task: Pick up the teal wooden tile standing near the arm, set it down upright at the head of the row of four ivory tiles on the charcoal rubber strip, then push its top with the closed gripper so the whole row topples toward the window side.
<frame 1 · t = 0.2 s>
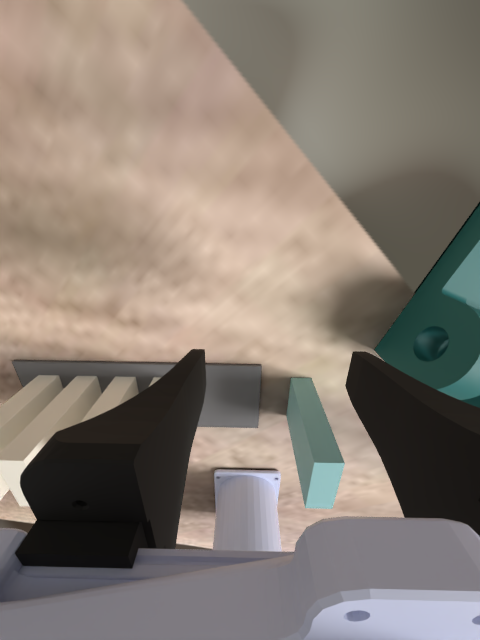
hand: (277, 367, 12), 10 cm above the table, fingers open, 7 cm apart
bracket: (470, 273, 21), on the table
mat: (143, 394, 26), on the table
tile 5: (56, 395, 26), resting on mat
tile 4: (92, 395, 26), resting on mat
tile 3: (129, 396, 26), resting on mat
tile 1: (298, 397, 26), on the table
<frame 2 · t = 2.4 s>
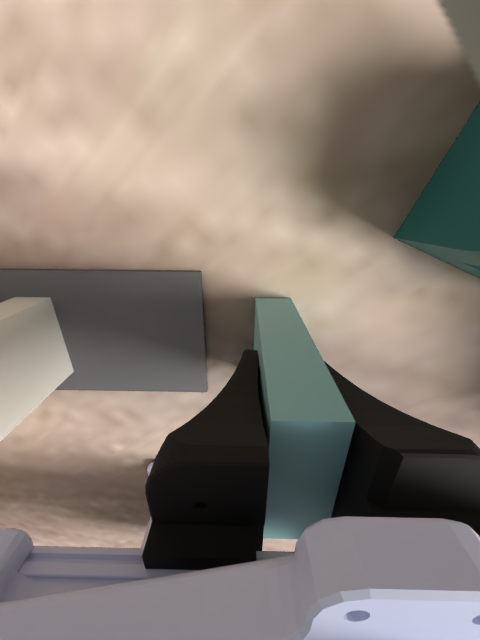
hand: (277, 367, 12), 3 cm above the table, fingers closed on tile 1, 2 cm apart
mat: (9, 333, 15), on the table
tile 2: (46, 336, 15), resting on mat
tile 1: (270, 337, 15), on the table, touching gripper
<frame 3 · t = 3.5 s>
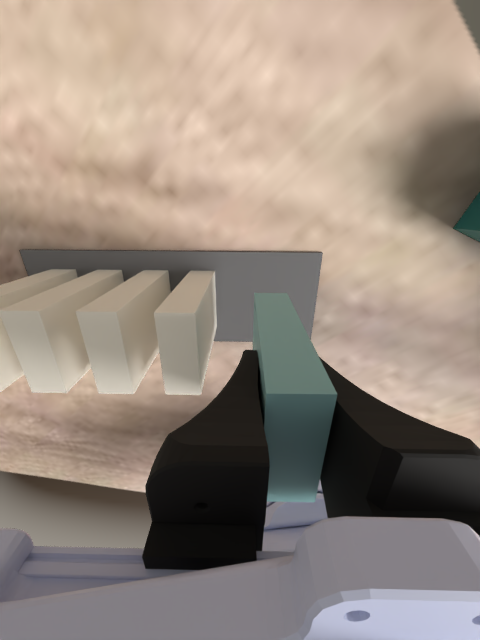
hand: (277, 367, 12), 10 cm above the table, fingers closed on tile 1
mat: (175, 298, 22), on the table
tile 5: (71, 298, 21), resting on mat
tile 4: (115, 298, 21), resting on mat
tile 2: (204, 299, 21), resting on mat
tile 3: (159, 299, 21), resting on mat
tile 1: (268, 329, 16), point 6 cm above the table, touching gripper
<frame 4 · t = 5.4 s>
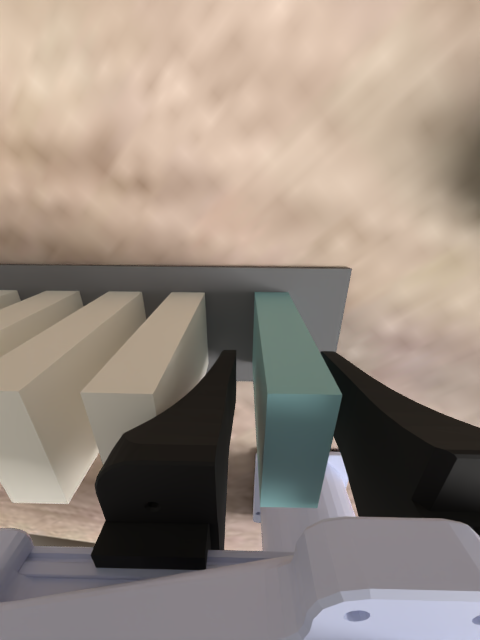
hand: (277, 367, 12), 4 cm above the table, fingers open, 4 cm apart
mat: (154, 327, 16), on the table
tile 5: (15, 327, 16), resting on mat
tile 4: (73, 328, 16), resting on mat
tile 2: (191, 329, 16), resting on mat, touching gripper
tile 3: (132, 328, 16), resting on mat
tile 1: (269, 329, 16), resting on mat
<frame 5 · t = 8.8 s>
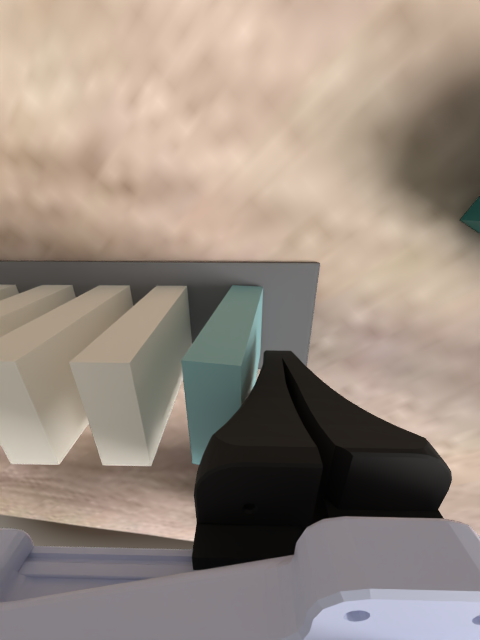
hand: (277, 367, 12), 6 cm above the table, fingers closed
mat: (141, 318, 18), on the table
tile 5: (14, 319, 18), resting on mat
tile 4: (67, 319, 18), resting on mat
tile 2: (175, 320, 17), resting on mat
tile 3: (121, 319, 17), resting on mat
tile 1: (247, 321, 17), resting on mat, tilted 8°, touching gripper
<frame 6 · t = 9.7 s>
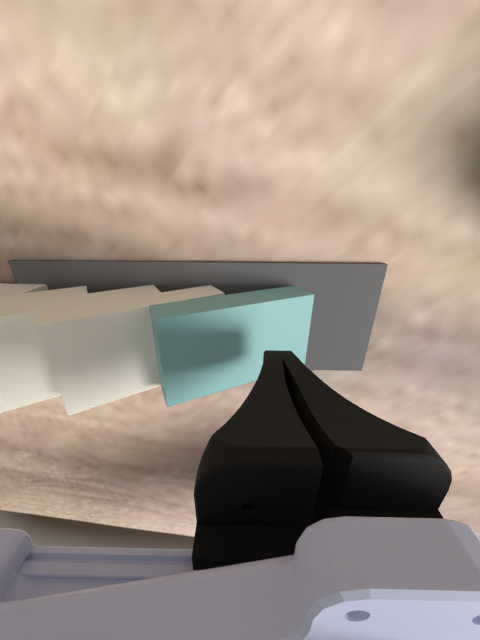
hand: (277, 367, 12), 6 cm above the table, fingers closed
mat: (200, 318, 18), on the table
tile 5: (46, 325, 17), point 1 cm above the table, tilted 92°, touching mat, tile 4
tile 4: (95, 326, 16), point 1 cm above the table, tilted 58°, touching tile 3, tile 5
tile 2: (218, 325, 17), point 1 cm above the table, tilted 58°, touching mat, tile 1, tile 3
tile 3: (161, 324, 17), point 1 cm above the table, tilted 58°, touching mat, tile 2, tile 4
tile 1: (299, 326, 16), point 1 cm above the table, tilted 64°, touching mat, tile 2
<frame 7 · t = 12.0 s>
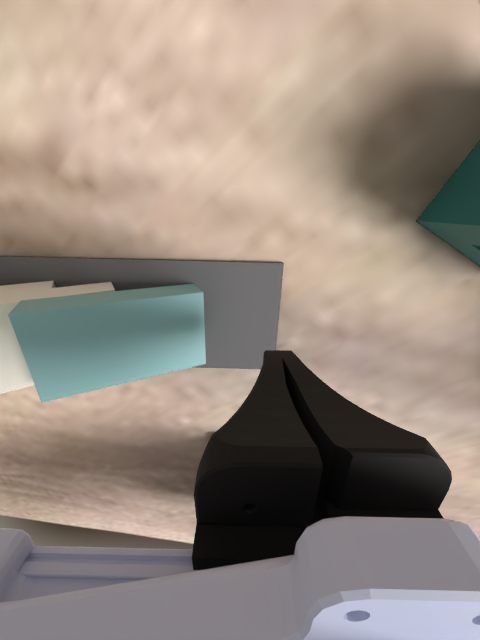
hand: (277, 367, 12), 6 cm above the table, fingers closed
mat: (108, 315, 18), on the table
tile 2: (119, 322, 17), point 1 cm above the table, tilted 58°, touching mat, tile 1, tile 3
tile 3: (63, 320, 17), point 1 cm above the table, tilted 58°, touching mat, tile 2, tile 4
tile 1: (199, 324, 17), point 1 cm above the table, tilted 64°, touching mat, tile 2
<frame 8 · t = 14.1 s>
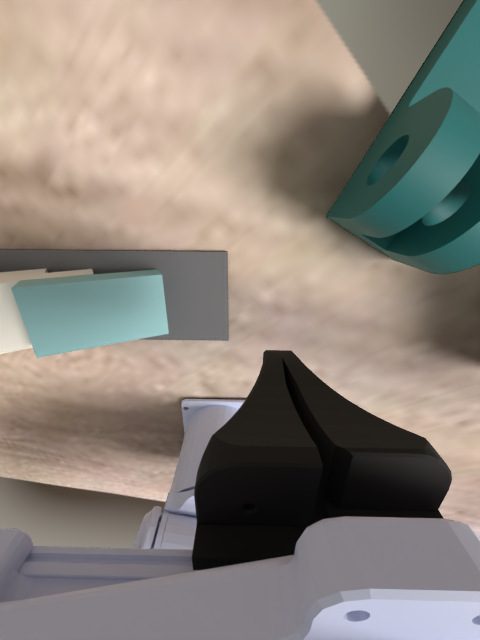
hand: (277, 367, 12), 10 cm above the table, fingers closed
bracket: (446, 115, 17), on the table
mat: (91, 296, 22), on the table
tile 2: (99, 300, 21), point 1 cm above the table, tilted 58°, touching mat, tile 1, tile 3
tile 1: (163, 301, 21), point 1 cm above the table, tilted 64°, touching mat, tile 2
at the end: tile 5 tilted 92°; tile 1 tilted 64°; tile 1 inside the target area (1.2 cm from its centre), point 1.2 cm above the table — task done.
